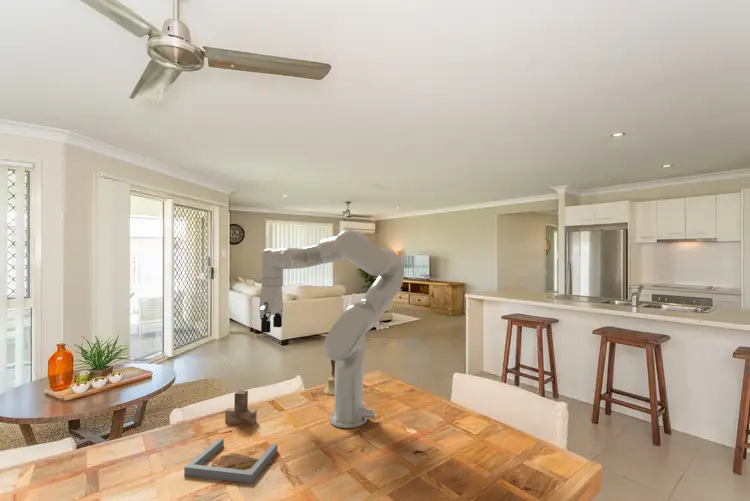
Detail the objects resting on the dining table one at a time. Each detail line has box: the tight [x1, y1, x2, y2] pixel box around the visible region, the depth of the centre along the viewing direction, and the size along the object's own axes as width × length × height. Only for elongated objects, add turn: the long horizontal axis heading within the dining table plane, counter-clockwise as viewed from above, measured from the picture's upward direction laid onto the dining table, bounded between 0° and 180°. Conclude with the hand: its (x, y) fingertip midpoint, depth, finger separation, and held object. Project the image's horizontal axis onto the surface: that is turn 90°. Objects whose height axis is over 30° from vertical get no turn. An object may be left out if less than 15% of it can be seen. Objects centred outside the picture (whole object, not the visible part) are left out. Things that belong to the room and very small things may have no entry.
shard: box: [210, 452, 260, 470], centre depth 93 cm, size 11×8×2 cm
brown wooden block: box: [224, 389, 258, 426], centre depth 118 cm, size 10×3×10 cm, turn 81°
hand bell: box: [323, 359, 335, 396], centre depth 146 cm, size 8×8×16 cm
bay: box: [183, 438, 279, 484], centre depth 95 cm, size 18×14×2 cm
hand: (271, 329), depth 131 cm, fingers open, 9 cm apart
